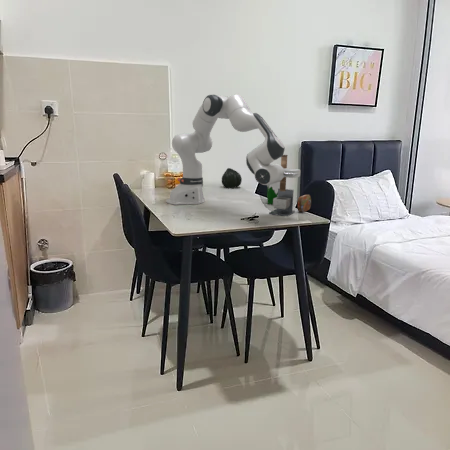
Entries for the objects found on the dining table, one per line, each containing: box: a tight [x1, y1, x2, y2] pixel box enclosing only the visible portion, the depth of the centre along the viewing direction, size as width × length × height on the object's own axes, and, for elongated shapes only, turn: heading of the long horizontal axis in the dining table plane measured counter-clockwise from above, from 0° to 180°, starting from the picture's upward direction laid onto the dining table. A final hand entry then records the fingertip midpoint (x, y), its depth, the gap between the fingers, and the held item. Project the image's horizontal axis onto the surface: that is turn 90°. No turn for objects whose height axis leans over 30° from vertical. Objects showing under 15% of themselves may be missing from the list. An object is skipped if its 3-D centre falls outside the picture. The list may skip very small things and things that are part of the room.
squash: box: [221, 167, 243, 189], centre depth 296 cm, size 14×15×15 cm
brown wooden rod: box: [280, 154, 288, 191], centre depth 204 cm, size 3×3×18 cm
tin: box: [296, 194, 312, 213], centre depth 217 cm, size 15×3×8 cm, turn 148°
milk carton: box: [266, 181, 280, 205], centre depth 235 cm, size 9×9×20 cm
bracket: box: [268, 188, 296, 217], centre depth 209 cm, size 12×10×12 cm
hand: (284, 170), depth 205 cm, fingers closed on brown wooden rod, 3 cm apart
